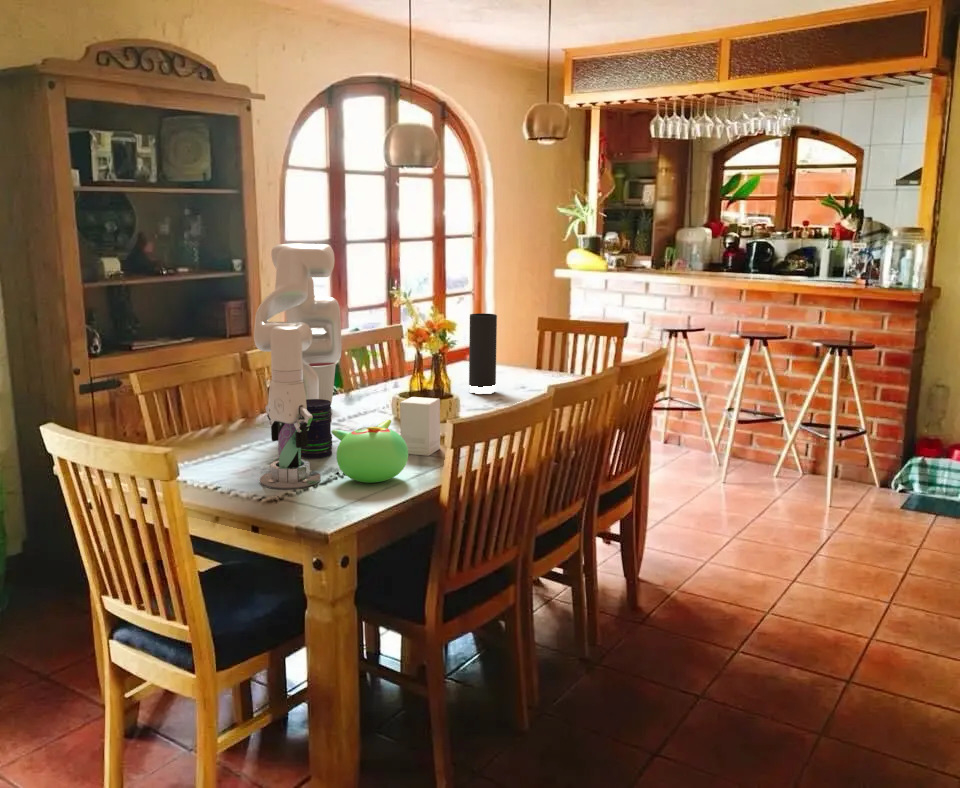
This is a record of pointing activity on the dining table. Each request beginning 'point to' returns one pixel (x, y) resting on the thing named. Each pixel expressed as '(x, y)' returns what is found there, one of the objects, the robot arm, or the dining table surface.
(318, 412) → the storage jar
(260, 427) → the dining table surface
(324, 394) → the white bucket
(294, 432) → the spray can
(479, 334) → the black tall cylinder
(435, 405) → the supplement box
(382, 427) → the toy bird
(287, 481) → the collar
